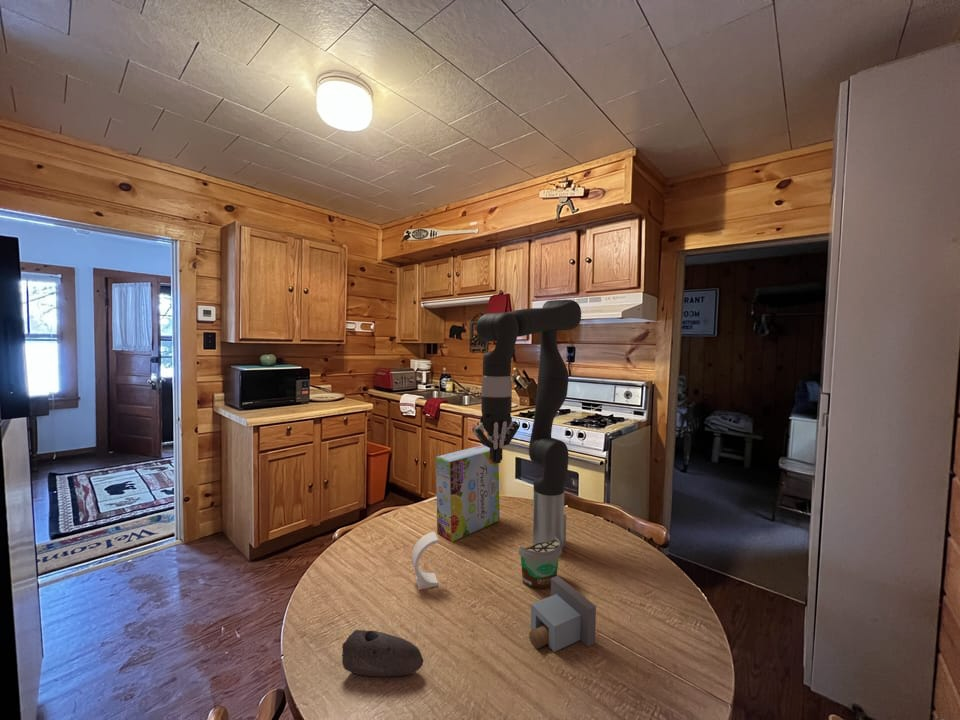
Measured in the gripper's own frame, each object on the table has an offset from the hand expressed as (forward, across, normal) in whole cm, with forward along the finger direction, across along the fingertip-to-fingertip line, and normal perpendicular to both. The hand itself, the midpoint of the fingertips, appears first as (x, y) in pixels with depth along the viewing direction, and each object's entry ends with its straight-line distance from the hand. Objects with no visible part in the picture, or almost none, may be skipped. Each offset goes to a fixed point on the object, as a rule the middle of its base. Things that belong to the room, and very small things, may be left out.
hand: (495, 462), depth 99 cm
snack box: (+32, -9, -32) cm, 46 cm away
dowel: (+32, -1, +20) cm, 38 cm away
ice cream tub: (+32, -12, +5) cm, 35 cm away
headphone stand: (+32, +15, -10) cm, 37 cm away
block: (+32, -3, +20) cm, 38 cm away
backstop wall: (+32, -8, +20) cm, 38 cm away
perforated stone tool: (+32, +32, +12) cm, 47 cm away
